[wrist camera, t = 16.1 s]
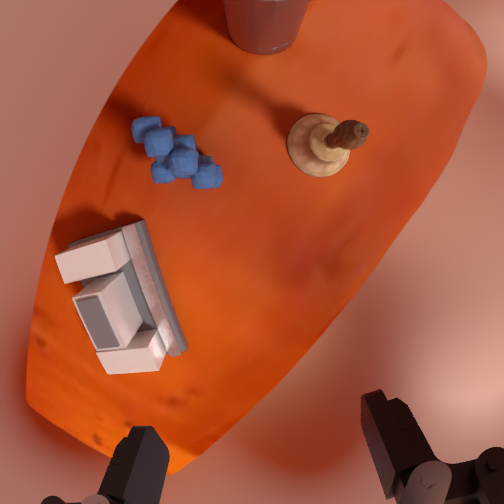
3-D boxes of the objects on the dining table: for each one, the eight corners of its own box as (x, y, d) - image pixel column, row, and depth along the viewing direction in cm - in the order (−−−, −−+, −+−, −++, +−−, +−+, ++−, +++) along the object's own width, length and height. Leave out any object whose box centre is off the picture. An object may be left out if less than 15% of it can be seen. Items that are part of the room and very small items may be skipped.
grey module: (95, 278, 38) (70, 299, 31) (123, 271, 38) (99, 292, 31) (115, 326, 40) (95, 352, 33) (142, 321, 40) (124, 349, 33)
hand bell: (307, 188, 36) (346, 203, 21) (274, 132, 34) (291, 105, 19) (360, 159, 35) (425, 157, 20) (329, 104, 33) (378, 66, 18)
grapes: (137, 153, 35) (92, 149, 23) (169, 113, 34) (135, 92, 22) (201, 209, 37) (179, 227, 26) (236, 169, 36) (229, 169, 24)
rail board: (72, 241, 38) (48, 254, 32) (144, 219, 37) (125, 229, 31) (118, 354, 44) (104, 377, 37) (187, 345, 43) (179, 371, 37)
